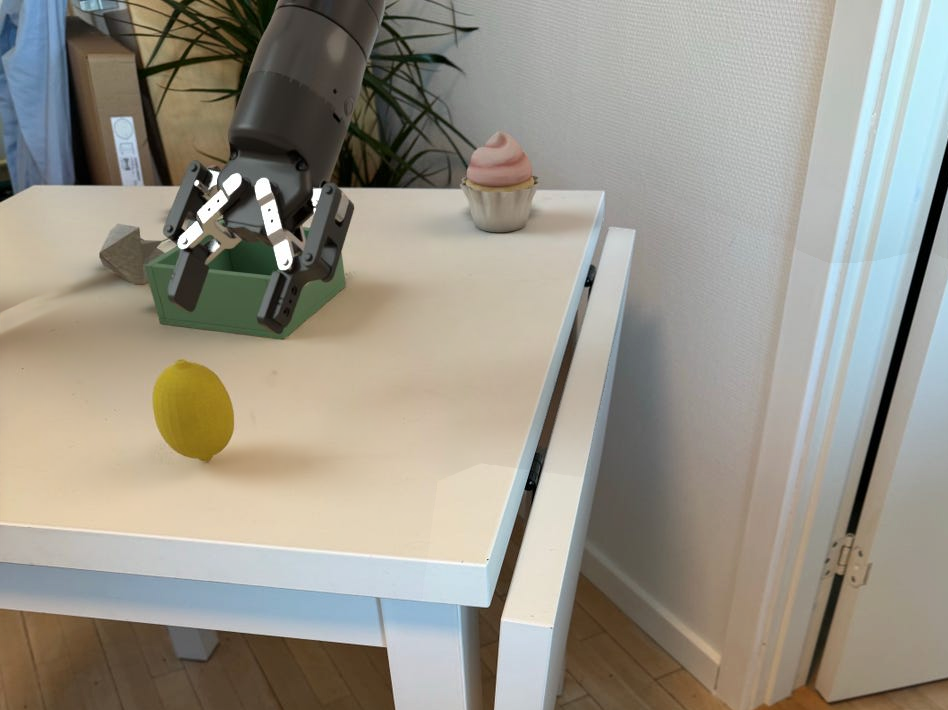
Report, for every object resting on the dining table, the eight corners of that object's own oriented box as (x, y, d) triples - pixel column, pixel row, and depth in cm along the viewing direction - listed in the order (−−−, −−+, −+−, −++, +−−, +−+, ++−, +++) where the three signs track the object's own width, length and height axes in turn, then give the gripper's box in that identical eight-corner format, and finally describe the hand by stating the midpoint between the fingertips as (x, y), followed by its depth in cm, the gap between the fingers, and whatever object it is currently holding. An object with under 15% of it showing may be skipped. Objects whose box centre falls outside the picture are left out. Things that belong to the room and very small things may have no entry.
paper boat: (110, 249, 101) (186, 217, 100) (135, 305, 102) (210, 274, 101) (66, 219, 89) (152, 183, 88) (95, 283, 90) (181, 248, 90)
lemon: (250, 442, 70) (228, 343, 65) (233, 480, 66) (208, 378, 61) (180, 442, 70) (153, 343, 65) (159, 480, 66) (128, 378, 61)
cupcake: (450, 235, 105) (446, 139, 98) (474, 210, 111) (471, 118, 105) (528, 241, 103) (529, 143, 96) (548, 215, 109) (550, 122, 102)
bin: (159, 323, 88) (143, 265, 84) (231, 274, 97) (220, 219, 93) (284, 339, 84) (273, 279, 81) (346, 286, 94) (339, 230, 90)
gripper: (190, 59, 64) (114, 276, 64) (352, 74, 58) (267, 312, 59) (254, 126, 71) (186, 322, 71) (404, 146, 65) (329, 358, 66)
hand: (223, 317), depth 65 cm, fingers open, 8 cm apart
